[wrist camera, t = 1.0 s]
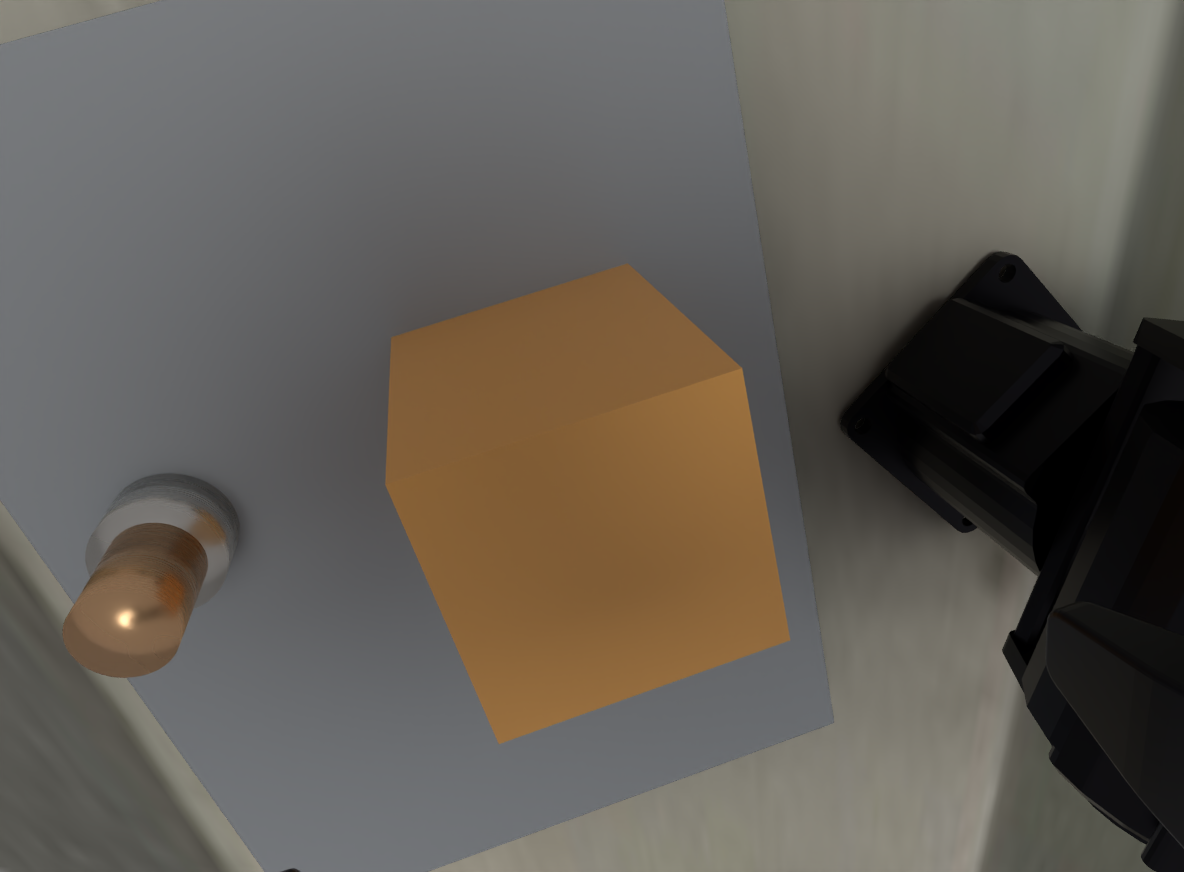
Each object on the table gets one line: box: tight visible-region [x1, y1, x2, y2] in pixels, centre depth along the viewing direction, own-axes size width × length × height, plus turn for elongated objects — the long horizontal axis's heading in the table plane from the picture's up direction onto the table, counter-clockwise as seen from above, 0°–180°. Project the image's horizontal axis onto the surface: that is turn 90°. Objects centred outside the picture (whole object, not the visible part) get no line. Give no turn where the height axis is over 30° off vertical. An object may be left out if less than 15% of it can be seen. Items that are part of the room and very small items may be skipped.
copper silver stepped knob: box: [63, 473, 240, 678], centre depth 17 cm, size 3×3×4 cm
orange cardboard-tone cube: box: [385, 263, 790, 744], centre depth 16 cm, size 6×6×7 cm
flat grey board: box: [0, 0, 834, 872], centre depth 21 cm, size 24×18×2 cm
